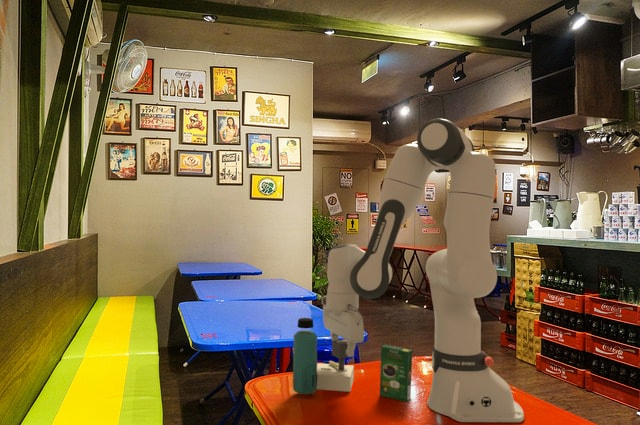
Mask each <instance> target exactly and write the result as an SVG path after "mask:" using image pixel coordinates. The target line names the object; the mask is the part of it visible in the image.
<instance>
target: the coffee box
mask: <svg viewBox="0 0 640 425" xmlns="http://www.w3.org/2000/svg"><path fill="white" fill-rule="evenodd" d="M412 364H413V350H412V349H408V348H404V347H398V346H394V345H388V344H384V345H382V346H381V349H380V376H379V378H380V379H379V381H380V382H379V396H381V397H384V398H389V399H393V400H398V401H400V402H404V403H408V402H409V401H410V400H411V397H412V396H411V395H412V392H411V390H412V372H413V371H412V367H413V366H412Z"/></svg>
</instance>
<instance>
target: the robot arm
mask: <svg viewBox="0 0 640 425" xmlns="http://www.w3.org/2000/svg"><path fill="white" fill-rule="evenodd" d="M416 143H417V144H415V143H414V144H413V143H408V144H403V145H402V146H400V147H399V148H398V149H397V150H396V152H395V154H394V156H393V157H392V160H391V162H390V164H389V166H388V168H387V171H386V172H385V173H386V174H385V177H384V179H383V183H382V187H381V190H380V196H379V202H378V210H377V217H376V220H375V221H376V222H375V224H374V227H373V231H372V233H371V235H370V236H371V237H370V239H369V241H368V244H367V247H366V250H363V249H362V248H361V247H359V246H357V244H354V243H347V244H342V245H336V246H334V247H332V248H330V250H329V253H328V257H327V265H326V266H327V268H326V271H327V273H326V274H327V276H326V277H327V280H328V285H327V289H326V290H327V291H326V295H324V296H322V297H321V304H322V305H323V306H322V319H323V321H322V322H323V326H324V329H327V330H328V331H329V333H330V338H331V342H332V341H335V340H340V338H342V339H345V340H347V344H348V347H347V349H346V355H347V356H348V358H352V357H354V356H355V349H356V346H357V344H359V343H363V342H364V340H365V329H364V319H363V315H362V314H361V313H360V311H359V307H360V306H359V305H360V304H359V303H360V302H359V300H360V298H359V297H361V298H363V299H367V300H373V299H377V298H380V297H382V296H383V295H384V294H385V293H386V291H387V290H388V287H389V285H390V283H391V281H392V279H393V268H392V266H391V264H390V258H391V255H392V253H393V250H394V247H395V244H396V241H397V238H398V235H399V232H400V231H401V229H402V227H403V225H404V224H405V223H406V222H407V220H408V219H409V218H410V217H411V216H412V215H413V214H414V212H415V211H416V208H417V207H418V205H419V203H420V201H421V198H422V196H423V194H424V190H425V187H426V184H427V181H428V178H429V177H430V176H431V173H433V172H435V173H438V174H439V173H440V174H441V173H449V174H450V175H449V176H450V182H449V189H448V194H447V199H446V205H445V213H444V218H443V226H444V228H445V233H446V248H444V249H441V250H438V251H436V252H434V253H432V254H431V255H430V256H429V257H428V258H427V260H426V264H425V273H426V276H427V279H428V283H429V287H430V288H429V289H430V294H431V301H432V306H433V312H434V313H433V314H434V346H433V348H432V353H431V354H432V355H431V367H432V370H433V373H432V381H431V385H430V386H431V387H430V392H429V395H428V398H427V402H426V405H427V406H428V407H429V409H431V410H432V411H434V412H436V413H438V414H441V415H444V416H447V417H449V418H451V419H452V420H455V421H457V422H460V423H522V422H523V421H524V420H525V415H524V410H523V408H522V407H521V406H520V404H519V403H518V402H517V401H515V400H514V396H513V392H512V389H511V387H510V385H509V383H507V381H506V380H504V379H503V378H502V377H501V376H499V374H497V372H495V371H494V370H493V369H491V367H493V366H494V364H495V361H494V360H493V358H492V357H491V356H490V355H488V354H487V353H485V351H482V350H481V348H482V347H481V346H482V343H481V340H482V333H481V331H482V330H481V329H482V322H481V317H480V315H479V313H478V310H477V307H476V304H475V300H474V299H479V298H483V297H486V296H488V295H489V294H490V293H492V292H493V290H494V289H495V287H496V285H497V281H498V272H497V269H496V266H495V265H494V262H493V261H492V259H493V258H492V253H491V252H492V251H491V243H490V242H491V241H490V230H491V229H490V228H491V227H490V226H491V219H492V215H493V214H492V213H493V208H494V207H493V206H494V199H495V193H496V178H497V177H496V175H497V174H496V171H497V170H496V163H495V161H494V159H493V157H491V156H489V155H488V154H486V153H482V152H477V151H475V146H474V143H473V141H472V140H471V139H470V138H469V137H468V136H467V134H466V133H465V132H464V131H463V130H462V129H461V128H460V127H458V125H456V124H455V122H452V121H450V120H448V119H446V118H445V119H444V118H434V119H430V120H428V121H427V122H425V123H424V124H423V125H422V126H421V127H420V129H419V131H418V133H417V136H416ZM339 337H340V338H339Z"/></svg>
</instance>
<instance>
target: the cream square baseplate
mask: <svg viewBox="0 0 640 425" xmlns="http://www.w3.org/2000/svg"><path fill="white" fill-rule="evenodd" d="M336 363H337V364H339V362H336ZM317 364H318V365H317V389H316V390H321V391H322V390H323V391H333V392H334V391H336V392H349V393H350V392H351V391H352V386H353V383H354V379H355V378H354V377H355V376H354V375H355V371H354V369H355V365H352V364H351V365H348V364H347V365H346V364H345V363H344V370H339V368H338V367H336V366H334V365H332V364H330V363H320V362H319V363H318V362H317Z"/></svg>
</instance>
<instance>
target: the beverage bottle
mask: <svg viewBox="0 0 640 425" xmlns="http://www.w3.org/2000/svg"><path fill="white" fill-rule="evenodd" d="M297 328H299V329H301V330H298V331H297V332H296V333H295V334H294V335H293V357H292V361H293V362H292V389H293V391H294V392H295V393H297V394H303V395H306V394H307V395H308V394H309V395H310V394H313V393H315V392H317V390H318V389H317V365H318V364H317V363H318V335H317V334H316V333H315V332H314V331H313V330H309V329H312V328H314V320H313V318H309V317H301V318H298V320H297ZM302 329H303V330H302Z"/></svg>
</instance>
